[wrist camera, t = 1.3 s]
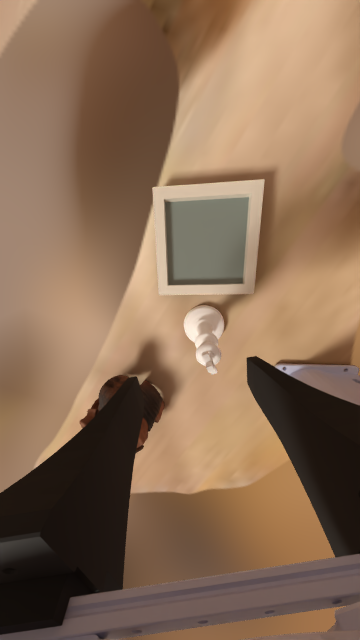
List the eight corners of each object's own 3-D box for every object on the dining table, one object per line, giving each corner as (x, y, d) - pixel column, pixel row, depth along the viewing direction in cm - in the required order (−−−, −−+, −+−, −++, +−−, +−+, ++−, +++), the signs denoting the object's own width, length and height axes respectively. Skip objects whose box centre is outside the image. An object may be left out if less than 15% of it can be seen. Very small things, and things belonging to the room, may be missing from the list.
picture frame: (256, 189, 17) (264, 179, 15) (248, 291, 20) (253, 293, 18) (157, 196, 18) (152, 187, 16) (162, 292, 20) (158, 295, 19)
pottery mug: (172, 421, 26) (136, 483, 21) (129, 397, 31) (89, 442, 25) (159, 365, 20) (102, 431, 14) (108, 345, 25) (48, 389, 19)
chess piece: (213, 298, 20) (230, 322, 11) (230, 333, 21) (259, 385, 12) (177, 315, 21) (161, 353, 12) (194, 348, 22) (193, 408, 13)
